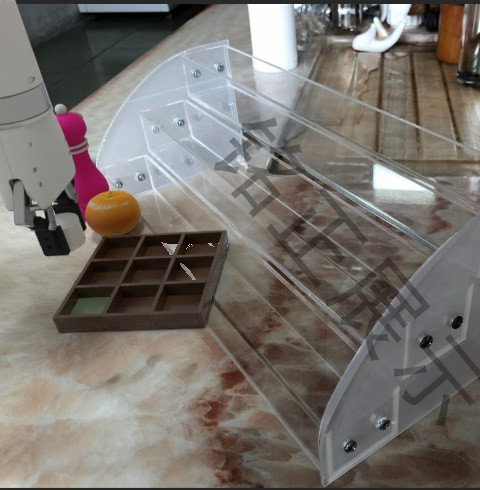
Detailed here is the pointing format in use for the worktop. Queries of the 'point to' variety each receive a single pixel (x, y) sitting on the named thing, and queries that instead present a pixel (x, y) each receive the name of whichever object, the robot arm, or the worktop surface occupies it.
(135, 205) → the fruit
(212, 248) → the board
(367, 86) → the worktop surface
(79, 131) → the pink pepper grinder
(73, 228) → the white cylinder puck
